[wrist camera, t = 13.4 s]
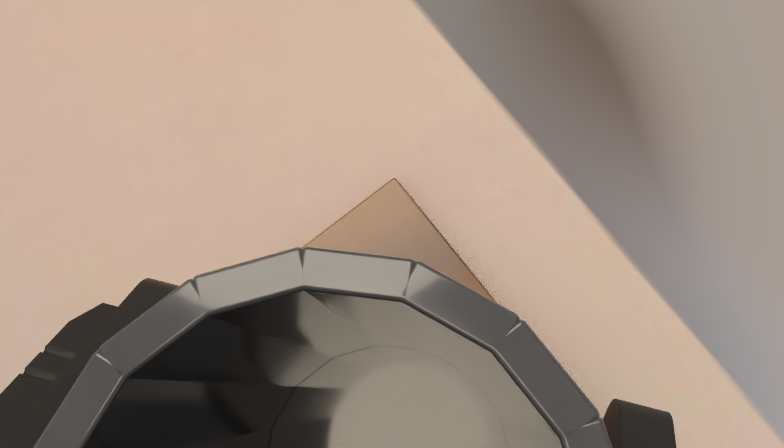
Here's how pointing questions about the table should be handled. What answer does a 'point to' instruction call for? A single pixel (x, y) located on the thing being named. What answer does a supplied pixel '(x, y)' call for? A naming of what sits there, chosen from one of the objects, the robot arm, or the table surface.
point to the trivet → (396, 234)
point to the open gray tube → (325, 365)
